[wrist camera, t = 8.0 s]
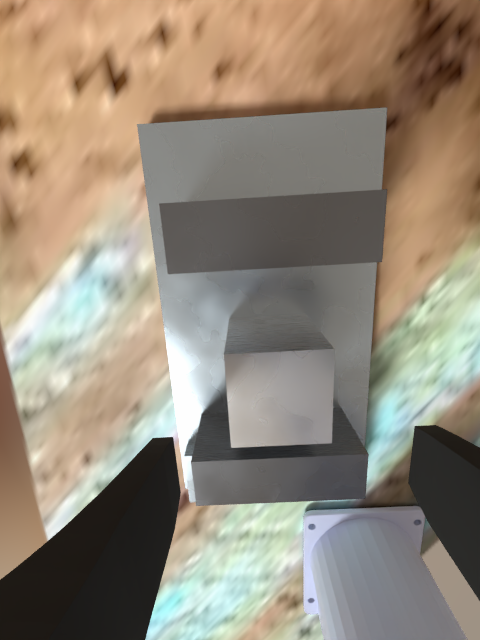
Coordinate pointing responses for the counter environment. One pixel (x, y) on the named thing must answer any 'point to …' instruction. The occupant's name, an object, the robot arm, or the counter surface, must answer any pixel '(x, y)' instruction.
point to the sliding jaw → (274, 231)
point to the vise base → (265, 295)
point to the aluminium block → (278, 381)
